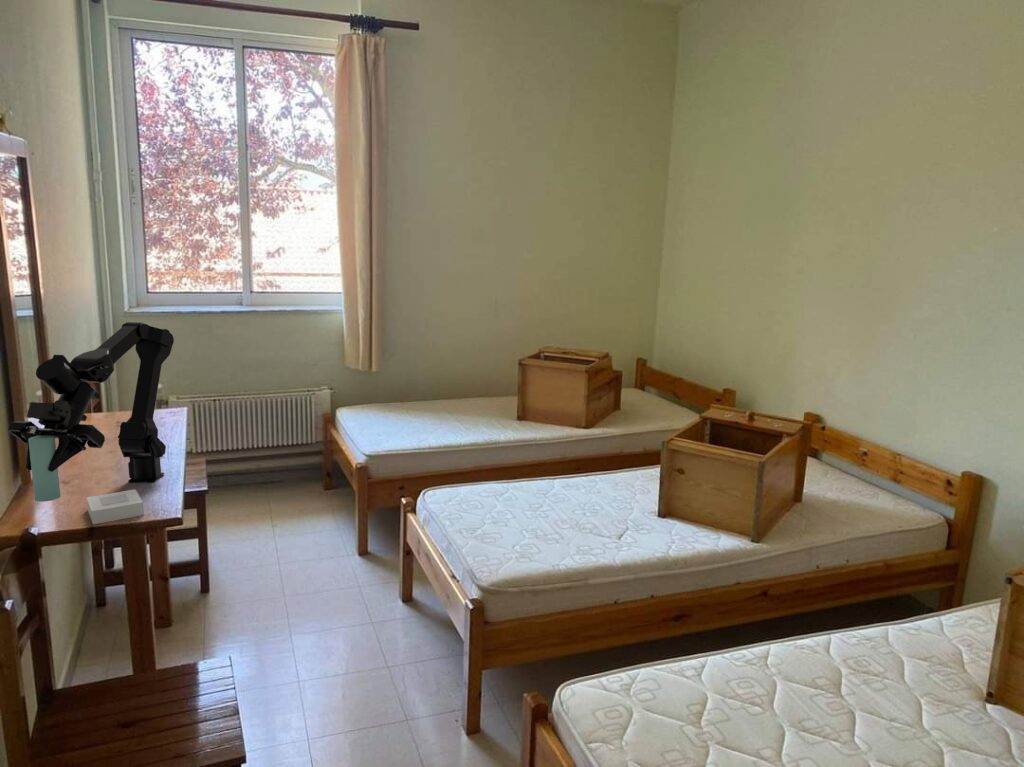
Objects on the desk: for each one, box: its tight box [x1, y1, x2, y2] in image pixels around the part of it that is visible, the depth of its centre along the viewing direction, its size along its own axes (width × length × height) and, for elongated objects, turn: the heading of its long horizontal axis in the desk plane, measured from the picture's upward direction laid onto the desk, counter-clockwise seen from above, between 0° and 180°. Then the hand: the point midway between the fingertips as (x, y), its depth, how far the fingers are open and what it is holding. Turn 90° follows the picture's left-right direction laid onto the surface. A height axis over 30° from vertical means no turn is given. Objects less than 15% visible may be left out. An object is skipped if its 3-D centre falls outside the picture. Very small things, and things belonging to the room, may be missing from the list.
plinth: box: [85, 489, 145, 525], centre depth 164 cm, size 10×10×3 cm
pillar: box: [28, 435, 61, 503], centre depth 152 cm, size 5×5×13 cm
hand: (39, 470), depth 151 cm, fingers closed on pillar, 5 cm apart
